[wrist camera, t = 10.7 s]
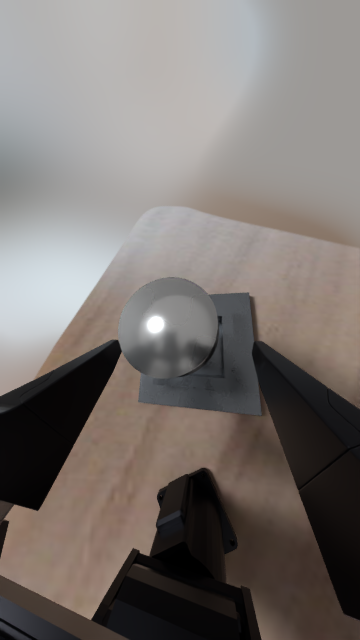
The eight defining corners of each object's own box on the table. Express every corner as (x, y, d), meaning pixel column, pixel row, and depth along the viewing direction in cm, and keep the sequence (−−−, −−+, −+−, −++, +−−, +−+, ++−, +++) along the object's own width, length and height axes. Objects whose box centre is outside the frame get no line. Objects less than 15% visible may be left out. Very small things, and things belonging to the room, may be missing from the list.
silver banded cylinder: (221, 354, 18) (247, 343, 5) (187, 373, 18) (137, 405, 6) (201, 321, 19) (185, 257, 7) (170, 339, 20) (103, 307, 7)
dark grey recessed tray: (258, 412, 16) (271, 426, 13) (141, 399, 19) (127, 408, 16) (246, 295, 20) (254, 283, 17) (150, 300, 23) (141, 291, 20)
